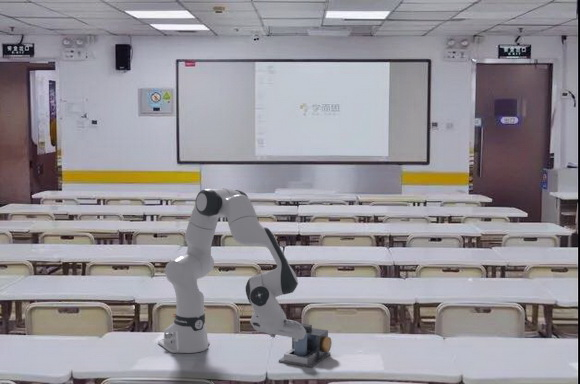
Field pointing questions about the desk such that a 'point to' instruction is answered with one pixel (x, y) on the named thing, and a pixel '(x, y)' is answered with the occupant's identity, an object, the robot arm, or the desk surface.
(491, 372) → the desk surface
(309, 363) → the gray recessed holder
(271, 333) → the robot arm
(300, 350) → the bottle
